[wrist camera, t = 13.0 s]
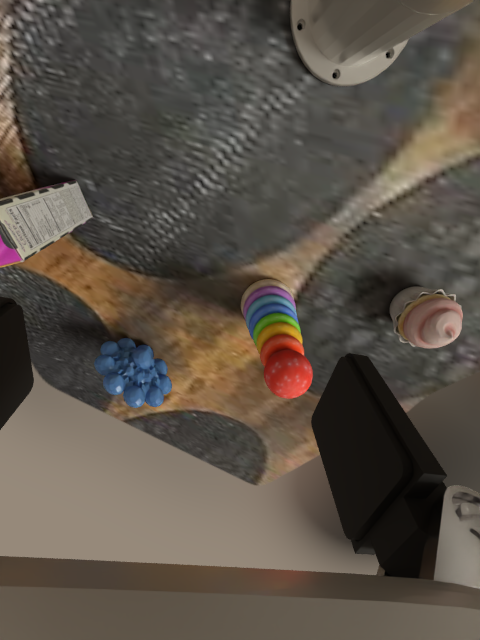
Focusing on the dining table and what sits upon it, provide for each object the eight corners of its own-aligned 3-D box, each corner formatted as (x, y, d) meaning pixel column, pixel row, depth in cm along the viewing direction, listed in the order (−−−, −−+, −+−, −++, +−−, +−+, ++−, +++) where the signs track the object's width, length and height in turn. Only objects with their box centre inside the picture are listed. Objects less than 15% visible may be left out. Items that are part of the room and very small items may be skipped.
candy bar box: (18, 240, 40) (-98, 294, 25) (-7, 201, 37) (-150, 237, 23) (97, 219, 39) (23, 264, 25) (78, 178, 36) (-17, 200, 22)
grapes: (189, 343, 49) (179, 397, 39) (170, 371, 52) (157, 428, 41) (120, 310, 45) (89, 360, 35) (104, 342, 48) (71, 397, 38)
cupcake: (452, 296, 47) (504, 331, 38) (404, 338, 50) (441, 378, 42) (415, 263, 44) (461, 293, 35) (366, 310, 47) (398, 347, 39)
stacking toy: (239, 323, 47) (245, 416, 31) (242, 275, 43) (251, 355, 27) (288, 324, 48) (320, 417, 32) (296, 277, 44) (337, 356, 28)
